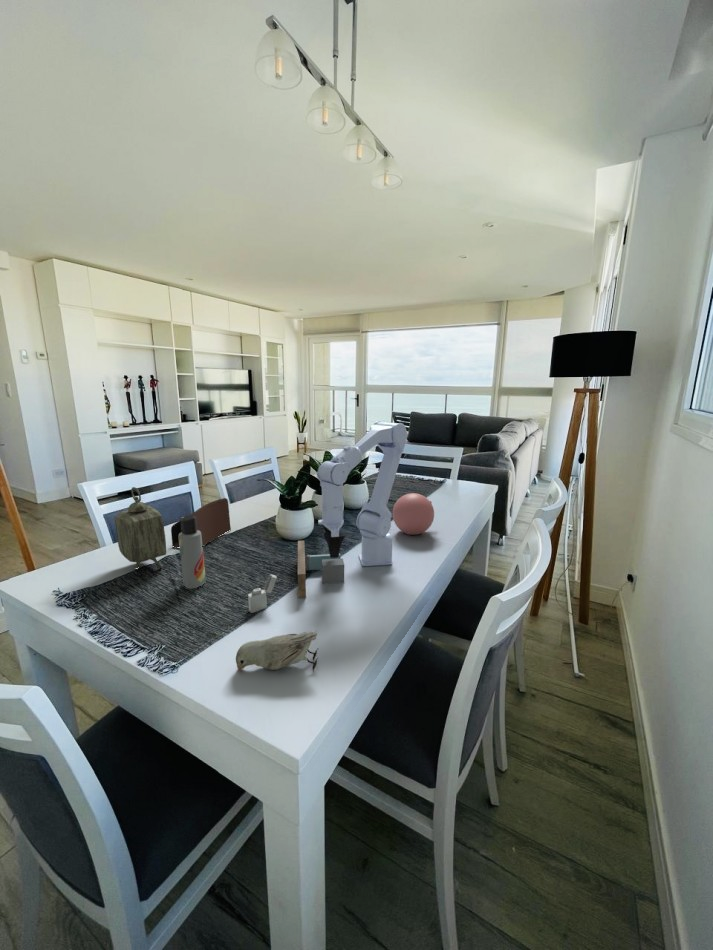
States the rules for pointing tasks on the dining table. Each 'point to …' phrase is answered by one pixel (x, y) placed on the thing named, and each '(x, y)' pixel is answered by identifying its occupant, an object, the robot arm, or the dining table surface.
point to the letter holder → (207, 522)
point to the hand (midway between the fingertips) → (333, 551)
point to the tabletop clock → (140, 532)
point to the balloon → (413, 513)
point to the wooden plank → (301, 570)
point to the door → (316, 561)
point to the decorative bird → (276, 651)
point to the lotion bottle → (191, 553)
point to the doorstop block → (333, 571)
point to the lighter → (261, 595)
